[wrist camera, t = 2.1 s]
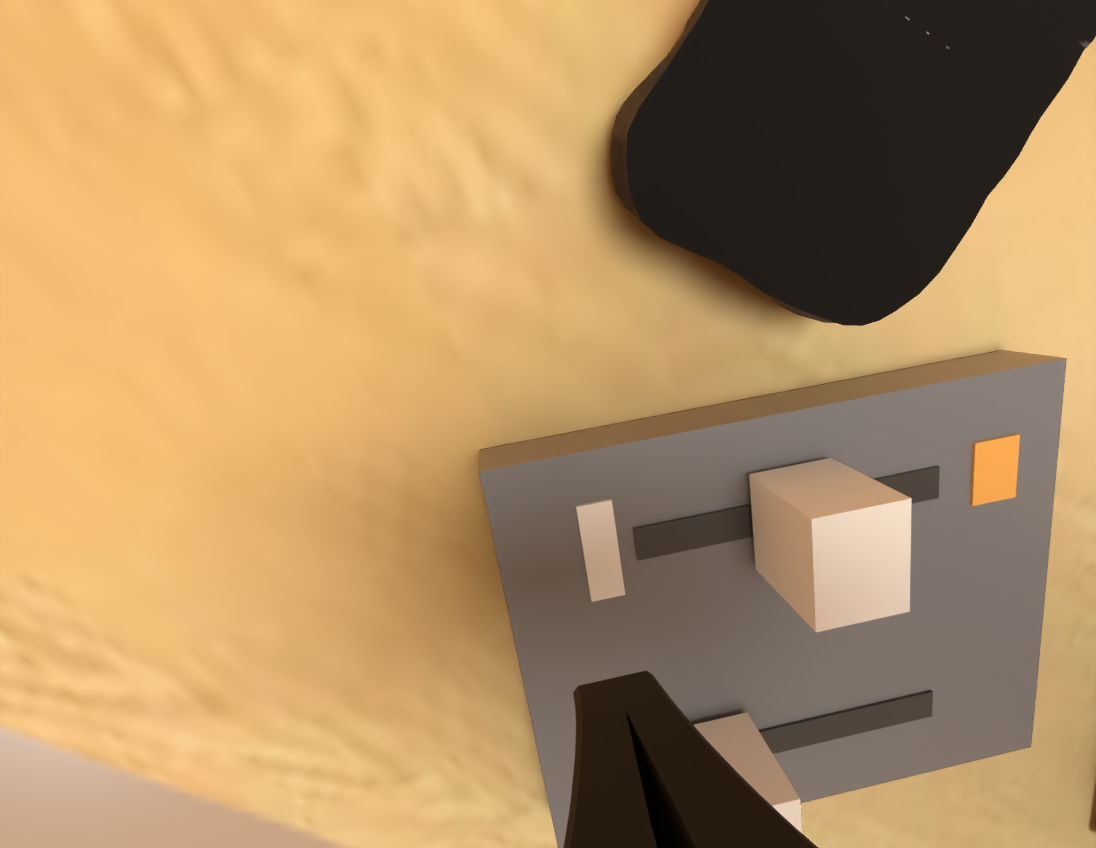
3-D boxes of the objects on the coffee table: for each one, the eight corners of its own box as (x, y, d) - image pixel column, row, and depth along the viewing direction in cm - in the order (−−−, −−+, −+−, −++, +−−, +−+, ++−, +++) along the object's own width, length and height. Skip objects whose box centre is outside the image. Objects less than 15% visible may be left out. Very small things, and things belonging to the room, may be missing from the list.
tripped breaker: (833, 552, 16) (909, 611, 13) (755, 569, 16) (815, 632, 13) (830, 457, 15) (911, 498, 12) (749, 474, 15) (811, 519, 12)
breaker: (753, 786, 18) (804, 882, 15) (683, 802, 18) (721, 903, 15) (747, 712, 17) (800, 798, 14) (673, 729, 17) (712, 820, 14)
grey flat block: (981, 704, 21) (1034, 749, 19) (553, 806, 20) (561, 864, 18) (1002, 349, 17) (1070, 358, 15) (479, 449, 16) (478, 473, 14)
